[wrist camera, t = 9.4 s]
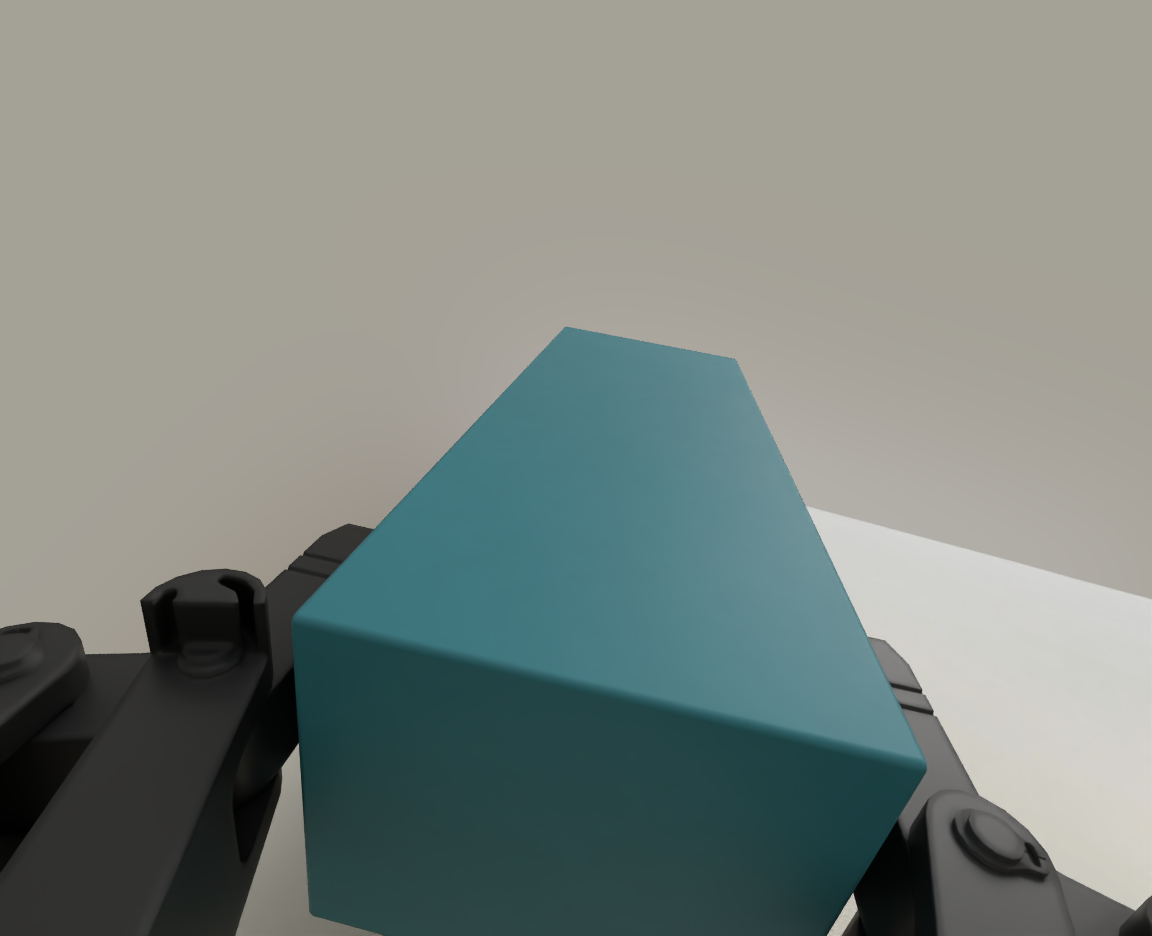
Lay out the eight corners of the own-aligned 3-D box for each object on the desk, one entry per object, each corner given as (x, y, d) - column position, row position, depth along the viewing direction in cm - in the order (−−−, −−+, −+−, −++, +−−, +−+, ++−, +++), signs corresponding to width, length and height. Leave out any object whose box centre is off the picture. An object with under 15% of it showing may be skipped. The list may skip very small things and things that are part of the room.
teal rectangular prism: (306, 917, 8) (286, 616, 5) (545, 456, 22) (564, 325, 20) (765, 1042, 7) (935, 768, 5) (700, 488, 22) (736, 358, 20)
